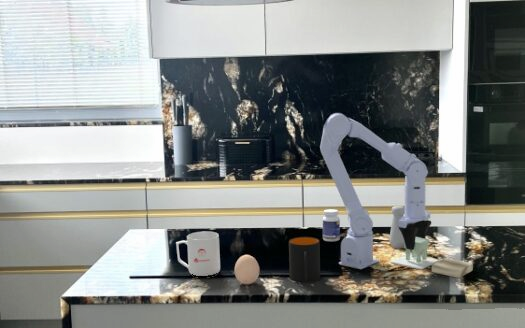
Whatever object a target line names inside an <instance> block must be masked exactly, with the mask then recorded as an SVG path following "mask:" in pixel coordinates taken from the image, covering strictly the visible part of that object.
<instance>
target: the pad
mask: <svg viewBox="0 0 525 328" xmlns="http://www.w3.org/2000/svg"><path fill="white" fill-rule="evenodd" d="M439 261H440V260H439V259H436V258H432V257H428V256H427V259H426V260H422V255H421V262H420V263H417V262H416V257H415V258H413V257H412V253H410V260H409V261H408V260H406V254H404V255H403V256H400V257H398V258H396V259H394V260H392V261H390V264H393V265H399V266H403V267H408V268H412V269H417V270H420V271H421V270H424V269H426V268H428V267H430V266H432V265H433V264H435V263H437V262H439Z"/></svg>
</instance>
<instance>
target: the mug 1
mask: <svg viewBox="0 0 525 328" xmlns="http://www.w3.org/2000/svg"><path fill="white" fill-rule="evenodd" d="M219 237H220V236H219V233H217V232H214V231H196V232H192V233H189V234H188V235H186V240H179V241H176V242H175V245H176V254H177V261H178V263H180V264H181V265H182V266H183V267H186V268H187V269H188V272H189V273H190V275H192V274H193V275H196V276H208V275H213V274H216V273H217V274H219V272H220V270H221V257H220V256H221V255H220V238H219ZM181 244H185V245H187V262H188V264H187V263H186V262H185V261H183V260H182V259H181V257H180V249H179V247H180V246H179V245H181ZM217 274H216V275H217ZM193 275H192V276H193Z"/></svg>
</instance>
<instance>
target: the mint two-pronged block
mask: <svg viewBox="0 0 525 328" xmlns="http://www.w3.org/2000/svg"><path fill="white" fill-rule="evenodd" d="M429 243H430V240H429V238H426V237H425V238H420V237H416V238H415V246H414V250H410V249H406V245H405V242H404V248H403V249H405V255H406V260H408V261H409V260H410V254H412V257H413V258H415V257H416V262H417V263H420V262H421V256H422V260H426V259H427V257H428V249H429Z"/></svg>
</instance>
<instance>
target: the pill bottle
mask: <svg viewBox="0 0 525 328" xmlns="http://www.w3.org/2000/svg"><path fill="white" fill-rule="evenodd" d="M323 215H324V216H323V217H322V239H323V241H325V242H337V241H338V242H339V240H340V238H341V228H340V227H341V224H340V223H341V221H340V217H339V216H338V215H339V211H338V209H334V208H333V209H330V208H329V209H324V210H323Z"/></svg>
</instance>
